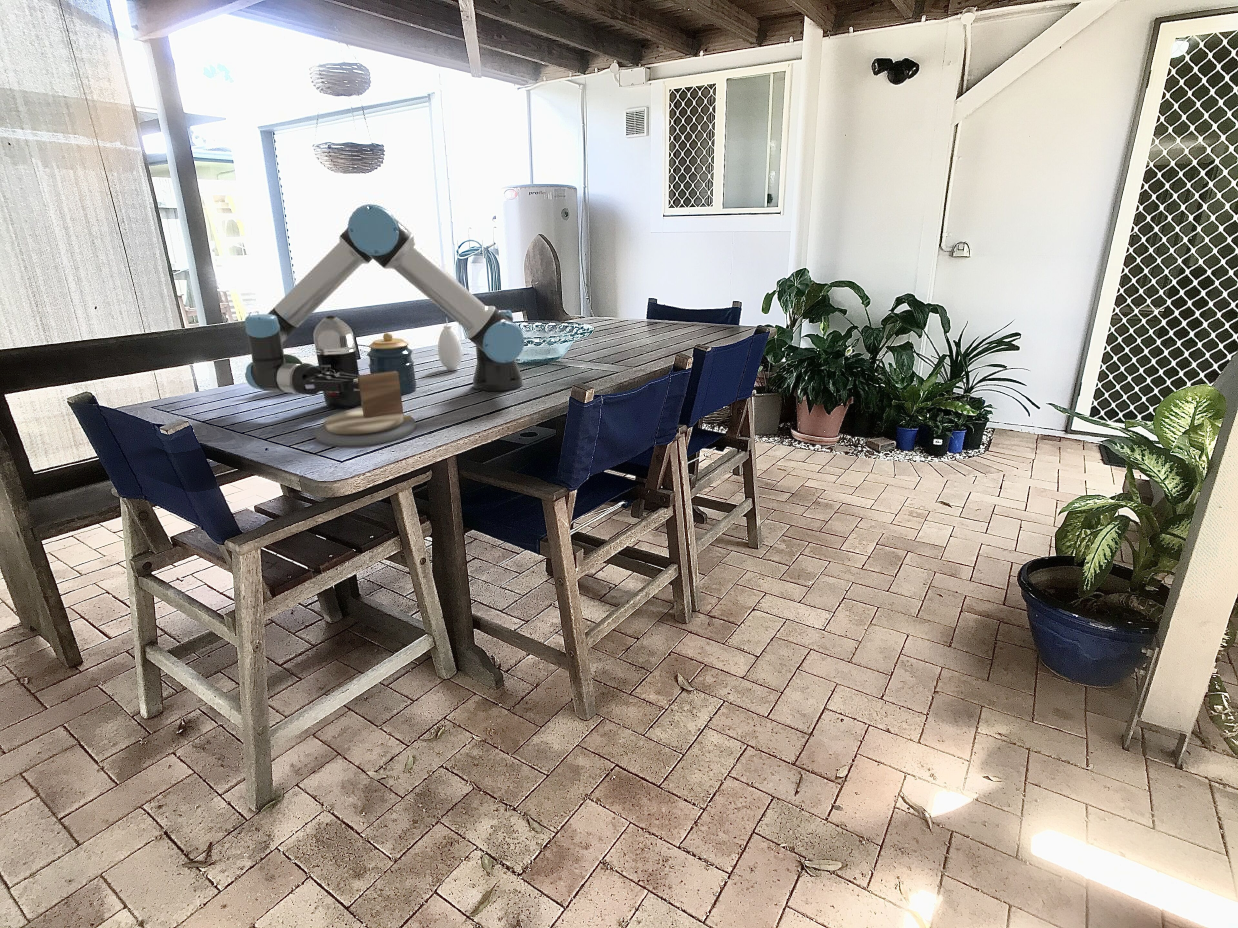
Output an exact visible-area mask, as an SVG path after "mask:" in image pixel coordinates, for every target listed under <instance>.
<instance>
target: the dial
mask: <svg viewBox="0 0 1238 928" xmlns="http://www.w3.org/2000/svg"><path fill="white" fill-rule="evenodd" d="M357 378H358V384H359V391H360V397H361V404H360V405H361V407H360V408H359V407H358V408H354V409H353V408H352V409H349V410H344V411H340V412H336V413H334V414H332V415H329V416H327V417H326V418H325V419H324V420H323V421H324V423H325V428H326V430H327V431H329V432H332V433H338V434H364V433H372V432H378V431H383V430H387V429H390V428H393V427H396V426H398V425H400V424H401V423H402V422H403V421H404V415H405V414H404V409H403V407H404V406H403V399H402V394H401V391H400V383H399V376H398V372H397V371H389V372H381V373H373V374H370V373H367V374H360V375H357ZM324 423H323V424H324Z"/></svg>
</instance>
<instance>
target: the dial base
mask: <svg viewBox="0 0 1238 928" xmlns="http://www.w3.org/2000/svg"><path fill="white" fill-rule="evenodd" d="M416 427H417V425H416V420H415V418H414V417H412V415H411V414H408V415H407V414H404V421H403V422H402V423H401V424H400V425H398V426H396V427H393V428H390V429H387V430H383V431H378V432H372V433H364V434H338V433H332V432H329V431H327V430H326V428H325V423H321V425H319V426H317V427H316V428H315V430H314V438H315V441H316V442H318V443H319V444H322V445H323V446H324V445H325V446H329V447H337V448H358V447H367V446H369V447H370V446H374V445H381V444H385V443H390V442H394V441H397V440H398V441H399V440H400V439H403V438H405V437H407V436H409V435H411V434H412V433H413V432H414V431H416V429H417V428H416Z"/></svg>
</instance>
